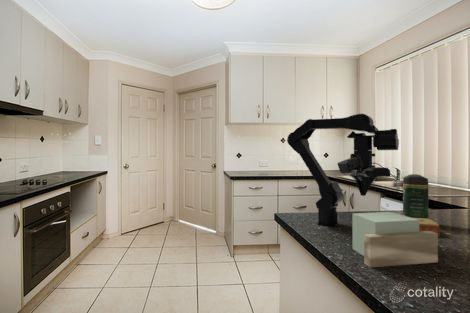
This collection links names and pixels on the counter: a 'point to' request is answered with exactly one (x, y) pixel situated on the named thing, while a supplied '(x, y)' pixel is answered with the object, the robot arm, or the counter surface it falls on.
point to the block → (379, 226)
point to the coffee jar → (415, 196)
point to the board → (400, 248)
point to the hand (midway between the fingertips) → (363, 195)
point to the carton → (428, 225)
